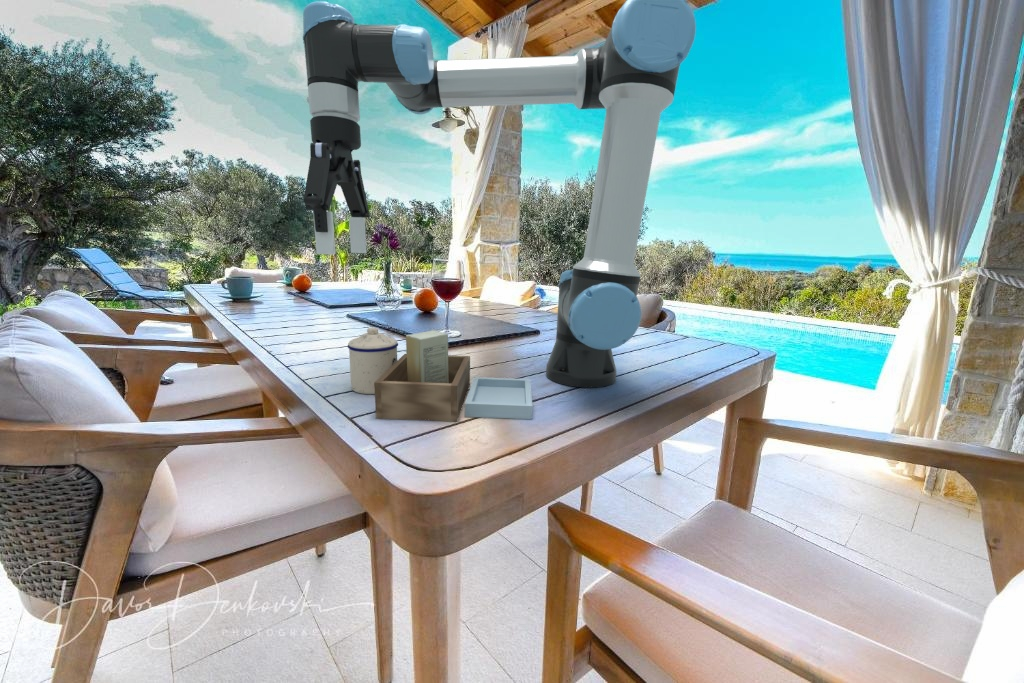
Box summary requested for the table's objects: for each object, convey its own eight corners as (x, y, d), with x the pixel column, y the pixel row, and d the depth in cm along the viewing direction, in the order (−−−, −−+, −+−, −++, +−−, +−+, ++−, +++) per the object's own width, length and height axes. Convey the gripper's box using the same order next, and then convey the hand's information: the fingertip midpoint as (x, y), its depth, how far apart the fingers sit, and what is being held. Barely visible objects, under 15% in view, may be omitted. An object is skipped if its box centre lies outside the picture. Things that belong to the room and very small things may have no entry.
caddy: (469, 384, 84) (470, 356, 82) (457, 421, 66) (457, 385, 65) (405, 382, 84) (404, 353, 82) (375, 418, 66) (374, 382, 65)
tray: (529, 390, 82) (529, 379, 81) (531, 419, 68) (532, 406, 67) (473, 388, 82) (473, 377, 81) (464, 416, 68) (465, 403, 68)
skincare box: (434, 392, 79) (434, 329, 76) (449, 398, 76) (449, 333, 73) (406, 401, 74) (404, 334, 71) (421, 407, 71) (419, 338, 68)
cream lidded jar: (400, 393, 78) (398, 332, 75) (348, 397, 75) (344, 334, 72) (397, 374, 89) (395, 320, 86) (352, 376, 86) (349, 321, 83)
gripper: (344, 139, 80) (351, 252, 84) (266, 92, 55) (282, 254, 60) (383, 140, 80) (387, 253, 84) (322, 93, 55) (333, 255, 60)
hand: (344, 253), depth 72 cm, fingers open, 13 cm apart
